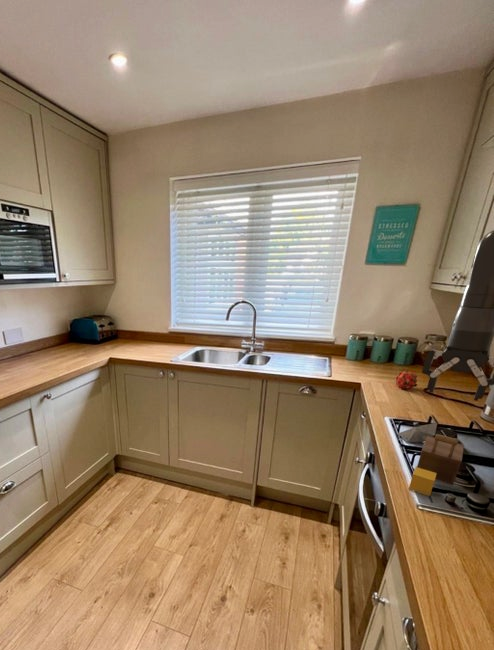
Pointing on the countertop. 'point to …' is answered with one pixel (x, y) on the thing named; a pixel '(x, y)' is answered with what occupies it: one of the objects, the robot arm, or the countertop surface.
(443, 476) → the chest
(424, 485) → the block
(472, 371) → the robot arm
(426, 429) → the paper boat
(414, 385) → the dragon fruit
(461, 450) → the lid
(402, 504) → the countertop surface
